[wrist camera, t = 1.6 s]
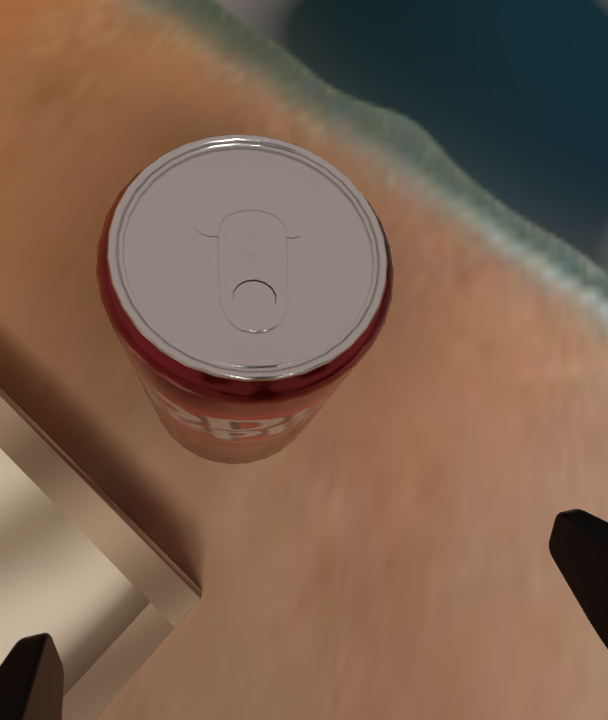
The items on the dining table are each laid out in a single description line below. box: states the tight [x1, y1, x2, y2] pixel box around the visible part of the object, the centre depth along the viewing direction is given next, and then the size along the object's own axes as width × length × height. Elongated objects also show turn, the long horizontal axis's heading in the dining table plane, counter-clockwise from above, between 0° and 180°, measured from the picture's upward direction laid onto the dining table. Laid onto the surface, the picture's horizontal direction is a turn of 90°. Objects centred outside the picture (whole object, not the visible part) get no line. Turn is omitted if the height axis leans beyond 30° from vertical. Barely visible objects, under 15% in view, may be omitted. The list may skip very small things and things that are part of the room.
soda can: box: [96, 134, 393, 464], centre depth 18 cm, size 7×7×12 cm
